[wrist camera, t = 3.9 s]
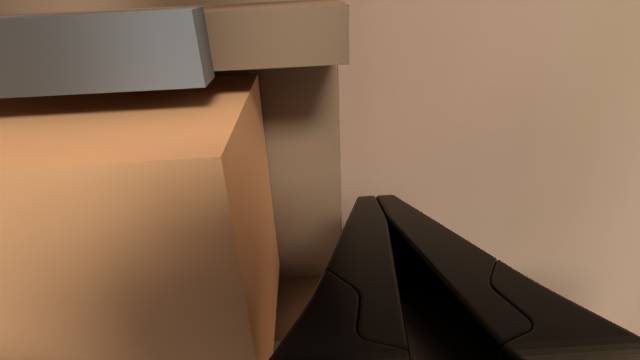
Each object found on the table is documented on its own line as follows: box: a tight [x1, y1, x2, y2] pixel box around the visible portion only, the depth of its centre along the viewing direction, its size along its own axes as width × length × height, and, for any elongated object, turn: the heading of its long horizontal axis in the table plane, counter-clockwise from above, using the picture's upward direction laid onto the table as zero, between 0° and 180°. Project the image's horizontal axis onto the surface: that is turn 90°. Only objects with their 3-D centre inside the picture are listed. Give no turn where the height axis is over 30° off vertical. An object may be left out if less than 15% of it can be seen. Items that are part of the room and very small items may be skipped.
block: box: [0, 74, 280, 360], centre depth 9 cm, size 6×6×5 cm
